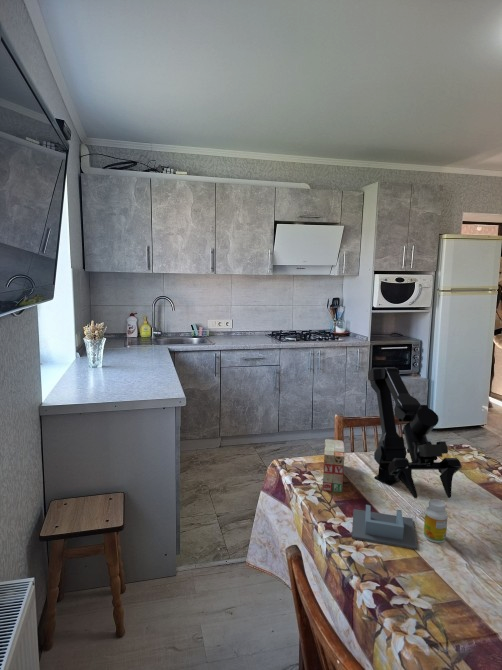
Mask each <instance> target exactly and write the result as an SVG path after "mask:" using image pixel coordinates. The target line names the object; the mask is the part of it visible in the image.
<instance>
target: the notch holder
mask: <svg viewBox="0 0 502 670" xmlns="http://www.w3.org/2000/svg"><path fill="white" fill-rule="evenodd" d="M352 512H353V513H352V514H353V515H352V528H351V539H354V540H360V541H366V542H371V543H377V544H383V545H388V546H394V547H401V548H404V549H406V548H407V549H411V550H416V551H417V550H418V541H417V538H416V531H415V527H414V520H413V518H411V517H408V516H403V512H402V509H396V514H395V515H393V514H388V513H382V512H381V513H380V512H376V511H375V512H374V511H371V505H369V504H365V510H363V509H362V510H361V509H356V508H355V509H354V508H353V509H352Z"/></svg>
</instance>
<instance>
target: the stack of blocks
mask: <svg viewBox="0 0 502 670" xmlns="http://www.w3.org/2000/svg"><path fill="white" fill-rule="evenodd" d="M323 453H324V456H323V457H324V459H323V477H322V489H321V490H322V491H324V492H334V493H343V484H344V483H343V479H344V468H345V445H344V441H343V440H339V439H338V440H337V439H336V440H335V439H328V438H327V439H325V440H324V452H323Z"/></svg>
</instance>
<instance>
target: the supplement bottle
mask: <svg viewBox="0 0 502 670" xmlns="http://www.w3.org/2000/svg"><path fill="white" fill-rule="evenodd" d="M428 501H429V502H428V506H427V507H426V509H425V510H424V511H425V512H424V513H425V514H424V524H423V536H424V538H425V539H427V540H428V541H430V542H433V543H438V544H440V543H444V542H445V541H446V539H447V528H448V520H449V519H448V516H449V515H448V512H447V511H446V507H447V506H446V505H447V504H446V502H445V501H444V500H442V499H439V498H431V499H429V500H428Z"/></svg>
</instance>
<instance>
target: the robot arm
mask: <svg viewBox="0 0 502 670" xmlns="http://www.w3.org/2000/svg"><path fill="white" fill-rule="evenodd" d="M367 376H368V381H369V383H370V387H371V389H372V390H373V391H374V393H376V398H377V404H378V412H379V421H380V429H381V435H380V438H379V440H378V443H377V444H378V447H377V448H376V449H375V451H374V452H373V455H374V456H373V458H374V460H375V462H376V463H377V464H378V472H377V473H378V474H377V475H375V476H374V477H373V479H375V480H378V481H379V482H382V483H384V484H387V485H389V486H392V485H394V484H396V483H398V482H401V483H402V485H404V486H405V488H406V489H407V491H408V492H409V493H410V494H411V496H412V497H413V498H414V499H418V492H417V489H416V486H415V482H414V479H413V476H412V475H413V473H412V472H413V471H414V470H415V471H416V470H417V471H418V470H419V471H421V470H422V471H424V470H425V471H428V470H433V471H434V470H438V473H440V475H439V479H440V481H441V484H442V487H443V489H444V493H445V495H446V497H447V498H448V499H451V498H452V490H453V489H452V488H453V486H452V485H453V479H454V475H455V474H456V473H457V472H458V471H459V470H460V469H462V468H463V466H462V465H463V464H462V463H461V461H460V459H459V458H457V457H444V458H443V456H444V454H448V453H449V449H448V445H447V442H446V441H441V440H440V441H436V443H435V444H432V442H431V441H429V440H428V435H429V434H430V433H431V432H432V431H433V429H434V428H435V427H437V425H438V423H439V421H440V420H439V415H438V414H437V413H436V412H435V411H434V410H433V409H431V408H429V406H428V404H421V403H420V401H419V400H418V399H417V398H416V397H414V396H412V395H411V394H410V392H409V390H408V389H407V387H406V384H405V383H404V381H403V379H402V377H401V374H400V369H399V368H397V367H391V366H390V367H388V366H387V367H372V368H371V370H369V371H368V374H367ZM392 398H393V399H392ZM393 401H394V402H395V403H394V404H395V405H394V404H393ZM393 405H394V406H393ZM396 420H397V421H398V422H406V424H405V425H404V426H403V427H402V430H401V434H402V435H404V438H405V439H404V438H403V436H400V435H399V434H398V432H397V425H396ZM405 441H406V445H407V448H406V446H405ZM407 454H409V456H410V457H409V458H410V461H411V462H410V461H409V459H408V458H407ZM438 457H440V458H443V459H442V460H440V461H438V462H437V460H438V459H439V458H438Z"/></svg>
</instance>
